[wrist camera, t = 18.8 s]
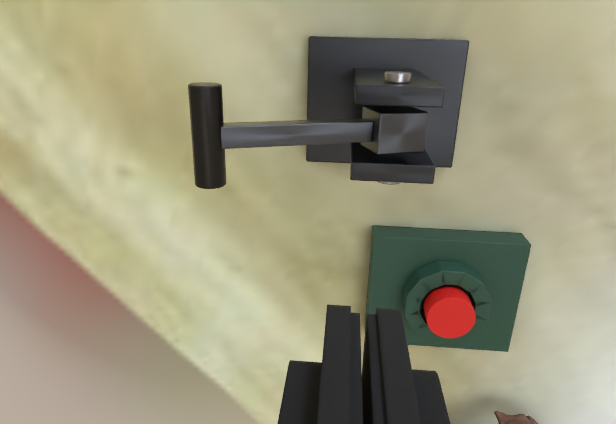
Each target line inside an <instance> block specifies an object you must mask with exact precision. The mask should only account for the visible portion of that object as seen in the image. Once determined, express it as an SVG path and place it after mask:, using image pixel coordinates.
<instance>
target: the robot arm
mask: <svg viewBox="0 0 616 424" xmlns="http://www.w3.org/2000/svg"><path fill="white" fill-rule="evenodd" d="M278 424H450V421H449V417H448V413H447V409H446V405H445V401H444V397H443V393H442V389H441V385H440V381H439V377H438V374H437V373H436V371H426V370H412V369H411V364H410V358H409V352H408V347H407V341H406V335H405V330H404V324H403V318H402V313H401V310H400V309H385V308H376V314H367V317H366V329H365V342H364V355H363V367H362V373H361V339H360V313H351V306H339V305H327V314H326V325H325V337H324V348H323V360H322V363H318V362H304V361H291V360H290V362H289V366H288V371H287V376H286V382H285V387H284V392H283V398H282V403H281V409H280V414H279V419H278Z"/></svg>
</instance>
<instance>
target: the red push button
mask: <svg viewBox="0 0 616 424" xmlns="http://www.w3.org/2000/svg"><path fill="white" fill-rule="evenodd" d="M423 308H424V313H425V317H426V321H427V325H428V327H429V328H430V330H431V331H432V332H433V333H434V334H436V335H438V336H440V337H443V338H457V337H460V336H463V335H464V334H466V333H467V332H469V331H470V330H471V328H472V327H473V325H474V323H475V319H476V314H475V311H474V308H473V306H472V304H471V301H470V299H469V297H468V295H467V294H466V293H465V292H464V291H462V290H461V289H459V288H456V287H452V286H444V287H440V288H437V289H435V290H433V291H432V292H431V293H430V294H429V295H428V296H427V297H426V299H425V301H424V307H423Z"/></svg>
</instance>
